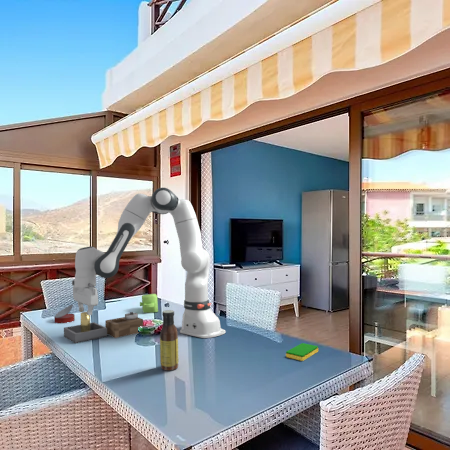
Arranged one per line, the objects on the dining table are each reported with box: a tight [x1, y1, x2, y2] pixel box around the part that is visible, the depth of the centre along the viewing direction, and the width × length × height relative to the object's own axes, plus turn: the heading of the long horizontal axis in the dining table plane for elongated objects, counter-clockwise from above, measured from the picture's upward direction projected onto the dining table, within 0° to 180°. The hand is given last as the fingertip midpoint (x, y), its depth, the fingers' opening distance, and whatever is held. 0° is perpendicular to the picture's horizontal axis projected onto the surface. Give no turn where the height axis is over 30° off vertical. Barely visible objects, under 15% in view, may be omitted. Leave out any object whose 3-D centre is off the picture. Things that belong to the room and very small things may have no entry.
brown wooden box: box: [104, 311, 144, 339], centre depth 169 cm, size 10×14×9 cm
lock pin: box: [80, 311, 91, 332], centre depth 163 cm, size 4×4×10 cm
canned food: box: [53, 304, 76, 324], centre depth 191 cm, size 11×10×10 cm
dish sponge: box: [285, 342, 319, 362], centre depth 140 cm, size 7×14×2 cm, turn 141°
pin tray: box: [63, 321, 108, 345], centre depth 163 cm, size 14×14×4 cm
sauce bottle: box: [159, 309, 180, 371], centre depth 126 cm, size 6×6×20 cm
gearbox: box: [139, 293, 159, 314], centre depth 215 cm, size 18×10×10 cm, turn 16°
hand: (85, 313), depth 163 cm, fingers open, 8 cm apart
